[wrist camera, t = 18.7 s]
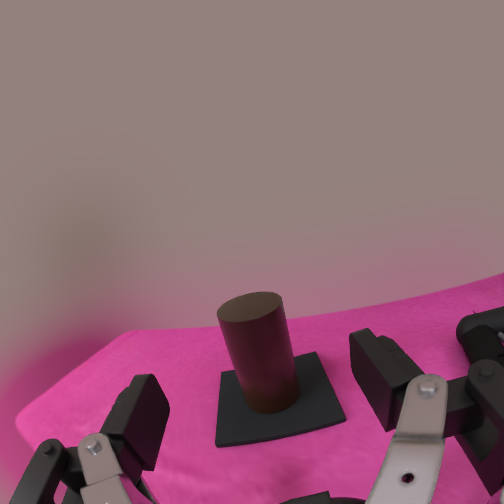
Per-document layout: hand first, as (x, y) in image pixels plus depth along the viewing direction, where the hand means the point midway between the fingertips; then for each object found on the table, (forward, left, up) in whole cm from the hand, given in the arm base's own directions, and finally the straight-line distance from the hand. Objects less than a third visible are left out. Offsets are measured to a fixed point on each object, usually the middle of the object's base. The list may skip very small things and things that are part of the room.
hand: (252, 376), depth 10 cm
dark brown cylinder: (0, -10, -10) cm, 14 cm away
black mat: (0, -10, -11) cm, 14 cm away
